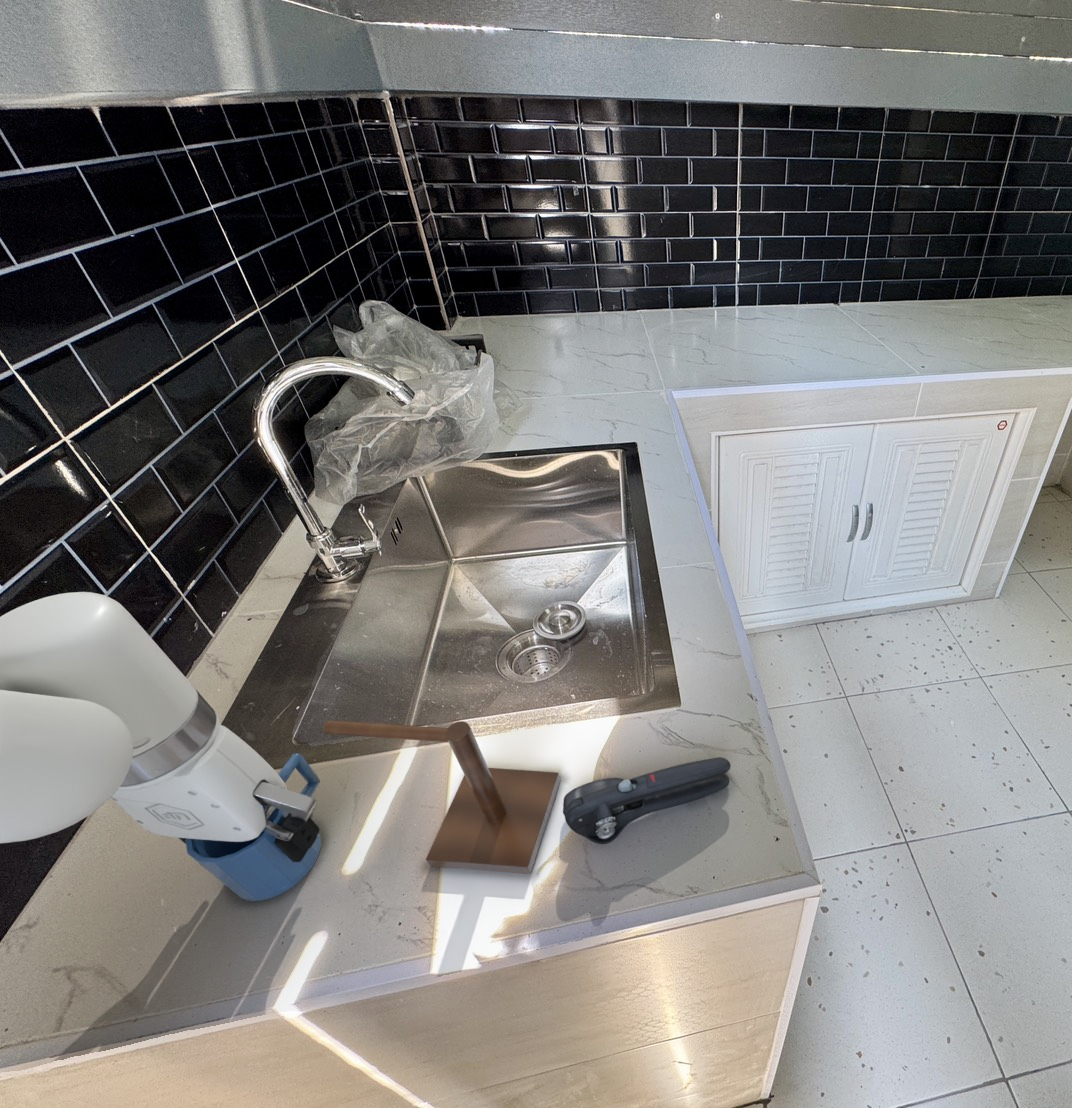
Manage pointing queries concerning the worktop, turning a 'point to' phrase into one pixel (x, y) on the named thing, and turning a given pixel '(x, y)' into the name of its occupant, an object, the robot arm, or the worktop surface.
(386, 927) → the worktop surface
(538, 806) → the mug stand
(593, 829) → the can opener
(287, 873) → the mug
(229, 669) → the worktop surface
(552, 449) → the worktop surface
